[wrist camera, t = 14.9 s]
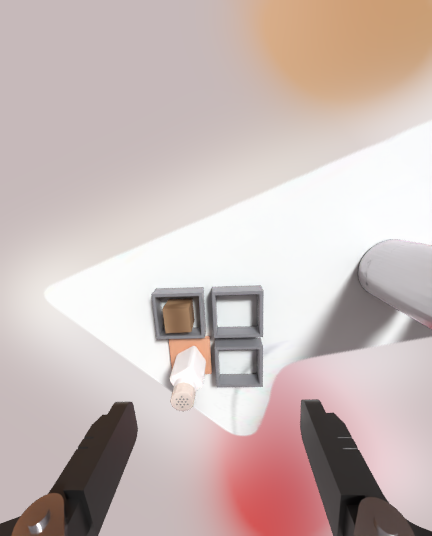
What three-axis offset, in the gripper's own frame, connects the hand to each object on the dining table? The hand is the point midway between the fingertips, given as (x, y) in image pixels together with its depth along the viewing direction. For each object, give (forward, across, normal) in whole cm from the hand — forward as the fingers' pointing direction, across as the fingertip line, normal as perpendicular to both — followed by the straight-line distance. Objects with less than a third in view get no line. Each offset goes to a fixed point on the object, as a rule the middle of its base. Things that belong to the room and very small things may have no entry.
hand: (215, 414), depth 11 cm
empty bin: (+26, -2, +7) cm, 27 cm away
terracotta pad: (+26, +7, +15) cm, 31 cm away
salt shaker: (+26, +7, +15) cm, 30 cm away
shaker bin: (+26, -2, +16) cm, 31 cm away
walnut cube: (+26, +8, +6) cm, 28 cm away
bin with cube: (+26, +8, +6) cm, 28 cm away
